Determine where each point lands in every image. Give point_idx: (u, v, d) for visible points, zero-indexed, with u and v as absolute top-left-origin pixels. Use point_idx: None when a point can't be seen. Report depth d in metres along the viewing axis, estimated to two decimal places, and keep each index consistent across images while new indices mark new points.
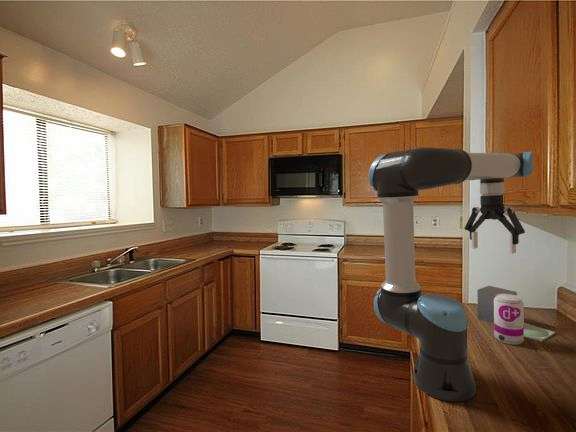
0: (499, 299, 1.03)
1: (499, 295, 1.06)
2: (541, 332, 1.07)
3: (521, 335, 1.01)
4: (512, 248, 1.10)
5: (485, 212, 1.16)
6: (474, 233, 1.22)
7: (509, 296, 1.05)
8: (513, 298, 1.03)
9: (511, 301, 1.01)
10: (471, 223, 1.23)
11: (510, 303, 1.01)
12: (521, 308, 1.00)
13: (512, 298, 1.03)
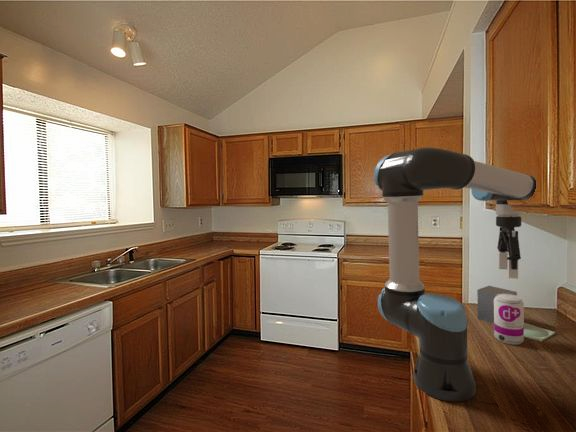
0: (499, 299, 1.03)
1: (499, 295, 1.06)
2: (541, 332, 1.07)
3: (521, 335, 1.01)
4: (510, 272, 1.07)
5: (500, 233, 1.14)
6: (501, 253, 1.19)
7: (509, 296, 1.05)
8: (513, 298, 1.03)
9: (511, 301, 1.01)
10: None
11: (510, 303, 1.01)
12: (521, 308, 1.00)
13: (512, 298, 1.03)
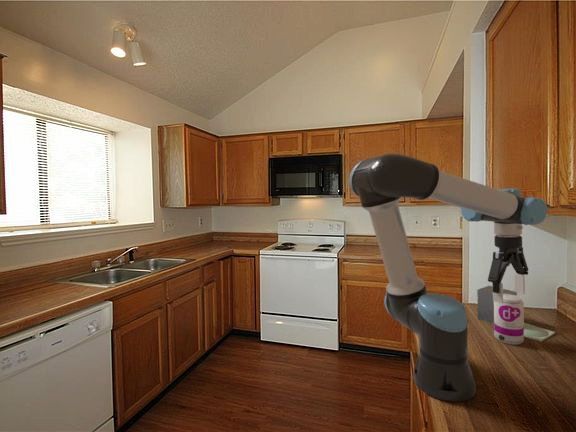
0: None
1: None
2: (541, 332, 1.07)
3: (521, 335, 1.01)
4: (494, 296, 1.01)
5: None
6: (516, 275, 1.07)
7: (509, 296, 1.05)
8: (513, 298, 1.03)
9: (511, 301, 1.01)
10: None
11: (510, 303, 1.01)
12: (521, 308, 1.00)
13: (512, 298, 1.03)
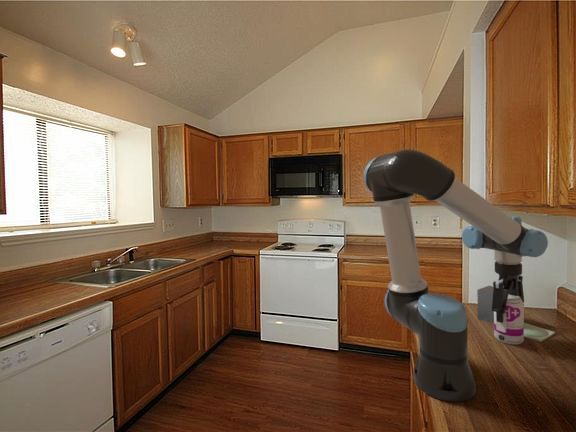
0: None
1: None
2: (541, 332, 1.07)
3: (520, 335, 1.01)
4: (497, 324, 1.03)
5: None
6: None
7: (509, 296, 1.05)
8: (513, 298, 1.03)
9: (511, 301, 1.01)
10: None
11: (510, 303, 1.01)
12: (521, 308, 1.00)
13: (512, 298, 1.03)
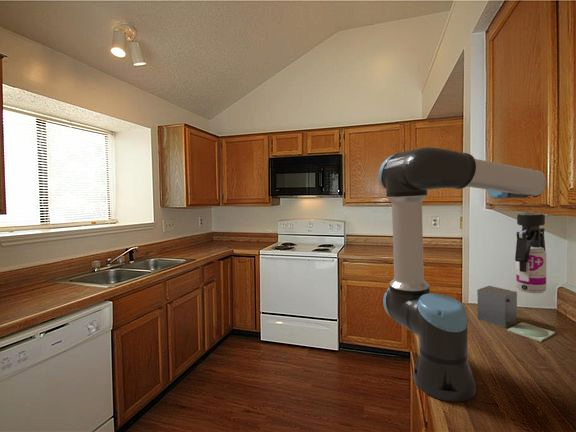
0: None
1: None
2: (541, 332, 1.07)
3: (543, 284, 1.04)
4: (520, 275, 1.06)
5: None
6: None
7: (531, 247, 1.08)
8: (536, 248, 1.06)
9: (534, 250, 1.04)
10: None
11: (533, 252, 1.03)
12: (544, 257, 1.03)
13: (535, 249, 1.06)
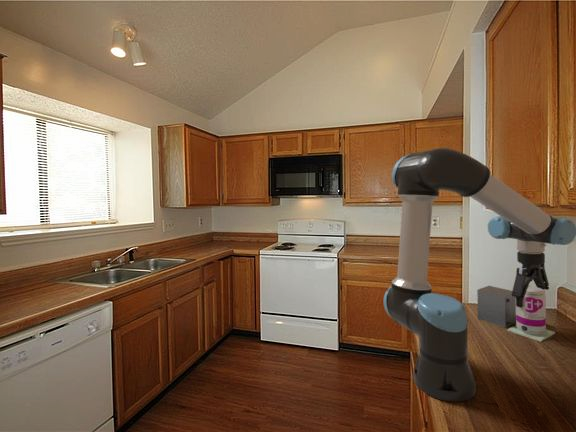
0: None
1: None
2: None
3: (543, 326, 1.05)
4: (517, 310, 1.06)
5: None
6: None
7: (531, 288, 1.09)
8: (535, 290, 1.07)
9: (533, 292, 1.05)
10: None
11: (532, 295, 1.05)
12: (543, 299, 1.04)
13: (534, 290, 1.07)
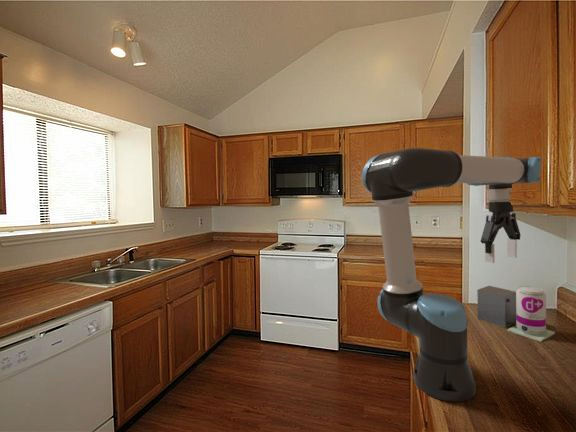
0: (522, 291, 1.07)
1: (521, 287, 1.10)
2: None
3: (543, 326, 1.05)
4: (486, 256, 1.09)
5: None
6: (509, 240, 1.14)
7: (531, 288, 1.09)
8: (535, 290, 1.07)
9: (534, 293, 1.05)
10: None
11: (533, 295, 1.05)
12: (544, 299, 1.04)
13: (535, 290, 1.07)
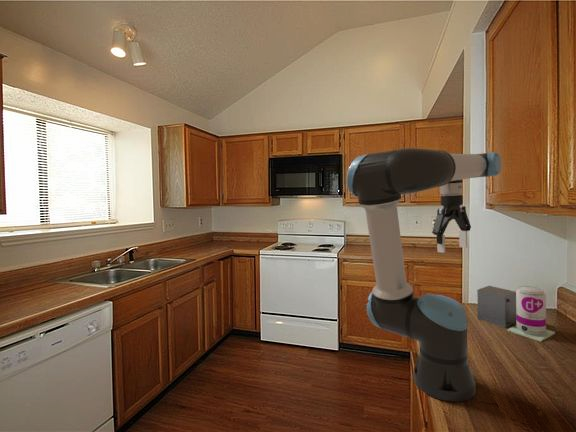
0: (522, 291, 1.07)
1: (521, 287, 1.10)
2: None
3: (543, 326, 1.05)
4: (438, 247, 1.16)
5: None
6: (460, 232, 1.22)
7: (531, 288, 1.09)
8: (535, 290, 1.07)
9: (534, 293, 1.05)
10: (463, 222, 1.22)
11: (533, 295, 1.05)
12: (544, 299, 1.04)
13: (534, 290, 1.07)
